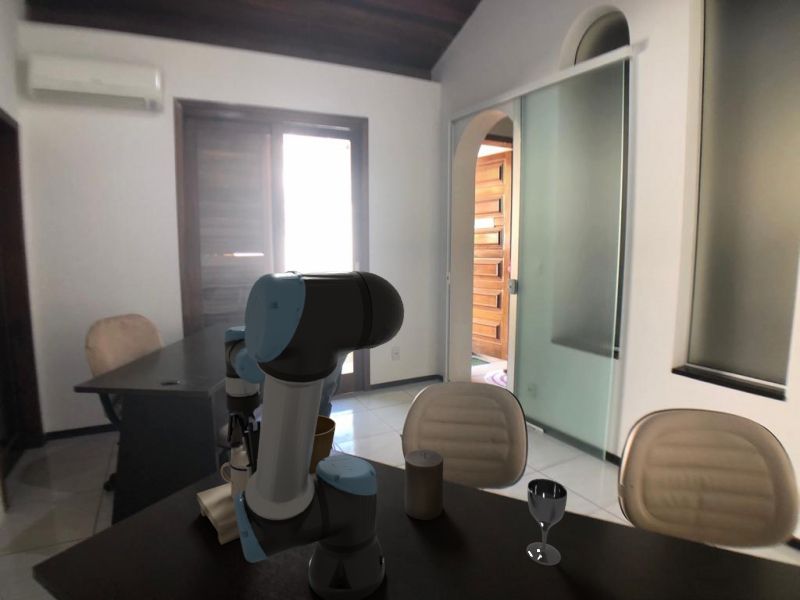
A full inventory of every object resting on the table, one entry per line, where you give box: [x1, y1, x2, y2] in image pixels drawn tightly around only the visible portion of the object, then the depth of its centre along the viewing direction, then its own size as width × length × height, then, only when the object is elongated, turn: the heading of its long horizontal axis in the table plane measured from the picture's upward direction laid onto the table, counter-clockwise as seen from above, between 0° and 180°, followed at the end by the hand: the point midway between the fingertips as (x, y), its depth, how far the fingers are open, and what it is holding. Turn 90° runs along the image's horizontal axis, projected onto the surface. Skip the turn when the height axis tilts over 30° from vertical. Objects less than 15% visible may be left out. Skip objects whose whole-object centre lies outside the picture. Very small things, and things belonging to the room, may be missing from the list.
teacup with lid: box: [220, 448, 249, 498], centre depth 105 cm, size 12×9×12 cm
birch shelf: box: [196, 482, 240, 545], centre depth 105 cm, size 16×18×5 cm
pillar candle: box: [404, 448, 444, 521], centre depth 108 cm, size 10×10×15 cm
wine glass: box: [525, 478, 568, 567], centre depth 92 cm, size 8×8×15 cm
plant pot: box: [309, 414, 337, 474], centre depth 121 cm, size 15×15×16 cm
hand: (245, 480), depth 104 cm, fingers open, 10 cm apart
